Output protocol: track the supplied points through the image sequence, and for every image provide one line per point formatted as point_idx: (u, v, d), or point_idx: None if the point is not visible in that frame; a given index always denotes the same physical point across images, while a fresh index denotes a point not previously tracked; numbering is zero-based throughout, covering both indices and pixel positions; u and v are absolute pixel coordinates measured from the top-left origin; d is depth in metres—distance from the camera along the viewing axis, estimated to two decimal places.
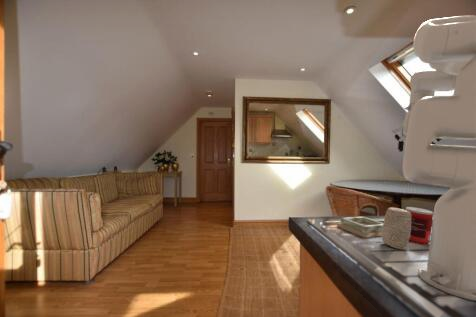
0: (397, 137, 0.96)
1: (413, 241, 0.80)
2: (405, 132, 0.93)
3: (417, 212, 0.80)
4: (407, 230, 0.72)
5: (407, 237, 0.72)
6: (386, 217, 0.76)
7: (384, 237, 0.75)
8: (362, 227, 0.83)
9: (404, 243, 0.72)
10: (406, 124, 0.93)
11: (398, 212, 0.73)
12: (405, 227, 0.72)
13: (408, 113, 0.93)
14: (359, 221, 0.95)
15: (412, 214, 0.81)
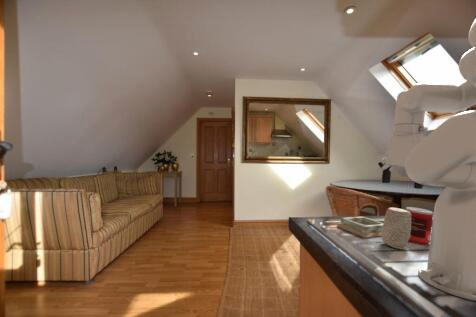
0: None
1: (413, 241, 0.80)
2: None
3: (417, 212, 0.80)
4: (407, 230, 0.72)
5: (407, 237, 0.72)
6: (386, 217, 0.76)
7: (384, 237, 0.75)
8: (362, 227, 0.83)
9: (404, 243, 0.72)
10: None
11: (398, 212, 0.73)
12: (405, 227, 0.72)
13: None
14: (359, 221, 0.95)
15: (412, 214, 0.81)
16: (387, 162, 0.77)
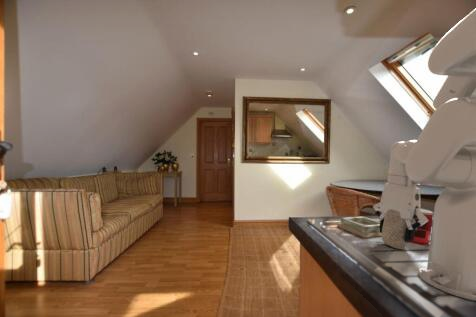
0: None
1: (413, 241, 0.80)
2: None
3: None
4: None
5: None
6: (386, 217, 0.76)
7: (384, 237, 0.75)
8: (362, 227, 0.83)
9: (404, 243, 0.72)
10: None
11: (398, 212, 0.73)
12: (405, 227, 0.72)
13: None
14: (359, 221, 0.95)
15: None
16: (382, 210, 0.78)
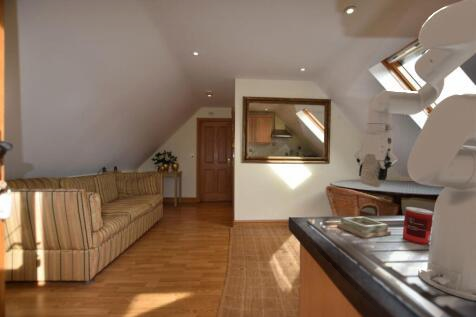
0: None
1: (413, 241, 0.80)
2: None
3: (417, 212, 0.80)
4: None
5: None
6: (364, 161, 0.88)
7: (362, 178, 0.88)
8: (362, 227, 0.83)
9: (378, 181, 0.85)
10: None
11: (373, 155, 0.85)
12: (379, 167, 0.84)
13: (391, 136, 0.84)
14: (359, 221, 0.95)
15: (412, 214, 0.81)
16: (361, 156, 0.90)
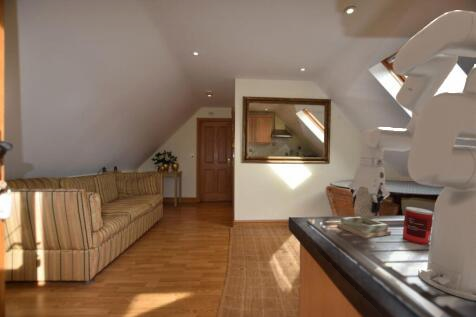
0: None
1: (413, 241, 0.80)
2: None
3: (417, 212, 0.80)
4: None
5: None
6: (357, 193, 0.90)
7: (356, 210, 0.90)
8: (362, 227, 0.83)
9: (371, 214, 0.87)
10: None
11: (366, 188, 0.87)
12: (372, 200, 0.87)
13: None
14: (359, 221, 0.95)
15: (412, 214, 0.81)
16: (354, 188, 0.92)
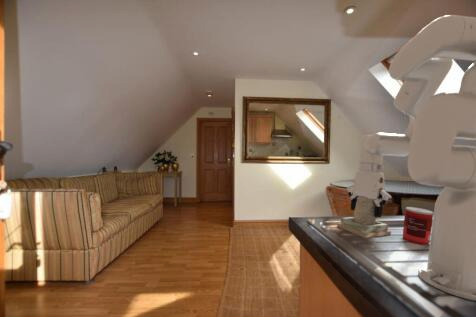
0: None
1: (413, 241, 0.80)
2: None
3: (417, 212, 0.80)
4: (373, 213, 0.86)
5: (373, 219, 0.87)
6: (357, 202, 0.90)
7: (355, 219, 0.89)
8: (362, 227, 0.83)
9: (371, 224, 0.87)
10: None
11: (366, 198, 0.87)
12: (372, 210, 0.86)
13: (383, 175, 0.86)
14: None
15: (412, 214, 0.81)
16: (354, 193, 0.92)
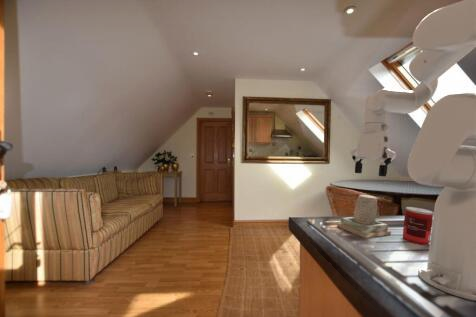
0: None
1: (413, 241, 0.80)
2: None
3: (417, 212, 0.80)
4: (373, 213, 0.86)
5: (373, 219, 0.87)
6: (357, 202, 0.90)
7: (355, 219, 0.89)
8: (362, 227, 0.83)
9: (371, 224, 0.87)
10: None
11: (366, 198, 0.87)
12: (372, 210, 0.86)
13: None
14: None
15: (412, 214, 0.81)
16: (358, 155, 0.91)
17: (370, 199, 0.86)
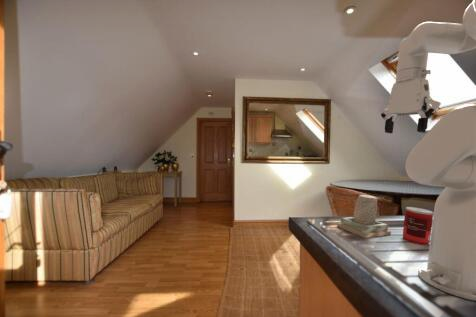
0: None
1: (413, 241, 0.80)
2: None
3: (417, 212, 0.80)
4: (373, 213, 0.86)
5: (373, 219, 0.87)
6: (357, 202, 0.90)
7: (355, 219, 0.89)
8: (362, 227, 0.83)
9: (371, 224, 0.87)
10: None
11: (366, 198, 0.87)
12: (372, 210, 0.86)
13: None
14: None
15: (412, 214, 0.81)
16: (390, 111, 0.77)
17: (370, 199, 0.86)
